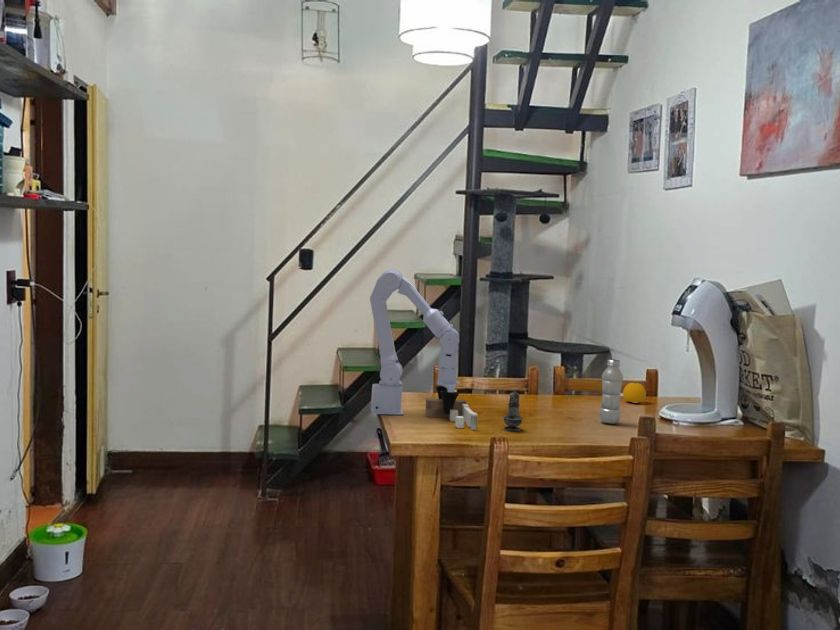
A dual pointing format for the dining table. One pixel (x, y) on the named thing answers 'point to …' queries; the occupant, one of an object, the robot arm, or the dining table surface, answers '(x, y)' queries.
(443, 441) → the dining table surface
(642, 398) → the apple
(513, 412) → the dark grey tall piece
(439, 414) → the block
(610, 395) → the plastic bottle
